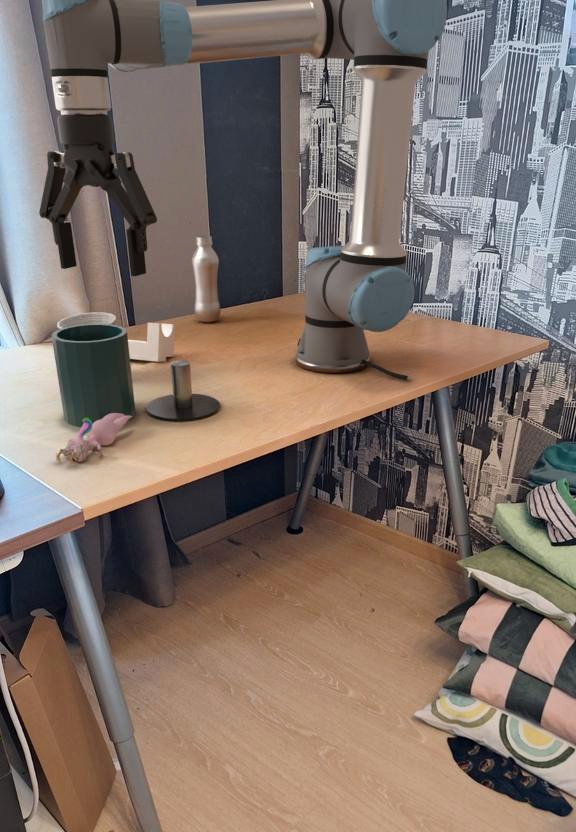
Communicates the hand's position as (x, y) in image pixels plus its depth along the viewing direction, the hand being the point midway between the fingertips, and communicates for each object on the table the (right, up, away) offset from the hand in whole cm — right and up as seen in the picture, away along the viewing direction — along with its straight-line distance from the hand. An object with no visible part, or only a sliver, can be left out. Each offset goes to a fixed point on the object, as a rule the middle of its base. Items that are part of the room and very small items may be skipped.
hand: (103, 271), depth 111 cm
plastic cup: (-9, -12, +28) cm, 32 cm away
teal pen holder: (-3, -21, +11) cm, 24 cm away
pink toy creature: (-1, -28, 0) cm, 27 cm away
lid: (+10, -19, +13) cm, 26 cm away
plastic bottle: (+8, +11, +70) cm, 71 cm away
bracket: (-3, -4, +42) cm, 43 cm away
